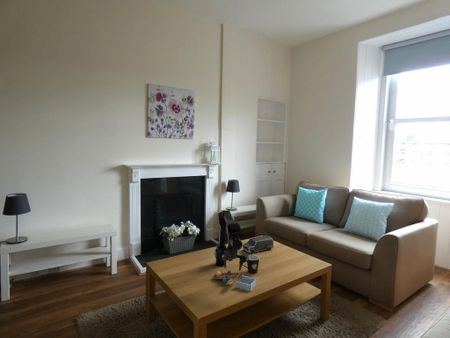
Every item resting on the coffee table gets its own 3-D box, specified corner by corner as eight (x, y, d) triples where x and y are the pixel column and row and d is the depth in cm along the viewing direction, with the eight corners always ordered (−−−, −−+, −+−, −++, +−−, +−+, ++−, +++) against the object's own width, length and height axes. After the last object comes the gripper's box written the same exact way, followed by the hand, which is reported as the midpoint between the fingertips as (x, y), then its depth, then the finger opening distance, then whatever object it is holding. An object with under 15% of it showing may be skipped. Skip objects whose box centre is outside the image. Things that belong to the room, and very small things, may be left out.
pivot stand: (221, 283, 169) (221, 275, 168) (227, 277, 176) (227, 269, 176) (225, 284, 167) (226, 276, 167) (231, 278, 175) (231, 270, 174)
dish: (236, 287, 164) (236, 281, 164) (242, 280, 172) (242, 275, 171) (250, 291, 160) (250, 285, 159) (256, 284, 168) (256, 278, 167)
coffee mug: (260, 269, 187) (260, 255, 186) (258, 275, 179) (258, 260, 178) (243, 267, 190) (243, 253, 189) (240, 273, 182) (241, 258, 181)
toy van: (274, 249, 224) (274, 238, 223) (249, 255, 212) (249, 242, 211) (266, 245, 233) (266, 234, 232) (241, 250, 221) (242, 238, 220)
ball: (215, 277, 173) (214, 272, 173) (217, 275, 176) (217, 270, 176) (219, 277, 172) (219, 272, 172) (222, 275, 175) (221, 270, 175)
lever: (207, 286, 166) (206, 281, 166) (217, 277, 177) (217, 272, 178) (230, 285, 159) (229, 281, 159) (239, 276, 170) (238, 271, 170)
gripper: (212, 246, 157) (212, 272, 158) (243, 251, 150) (242, 278, 151) (220, 240, 167) (220, 264, 168) (249, 244, 160) (249, 270, 161)
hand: (232, 269), depth 162 cm, fingers open, 9 cm apart
